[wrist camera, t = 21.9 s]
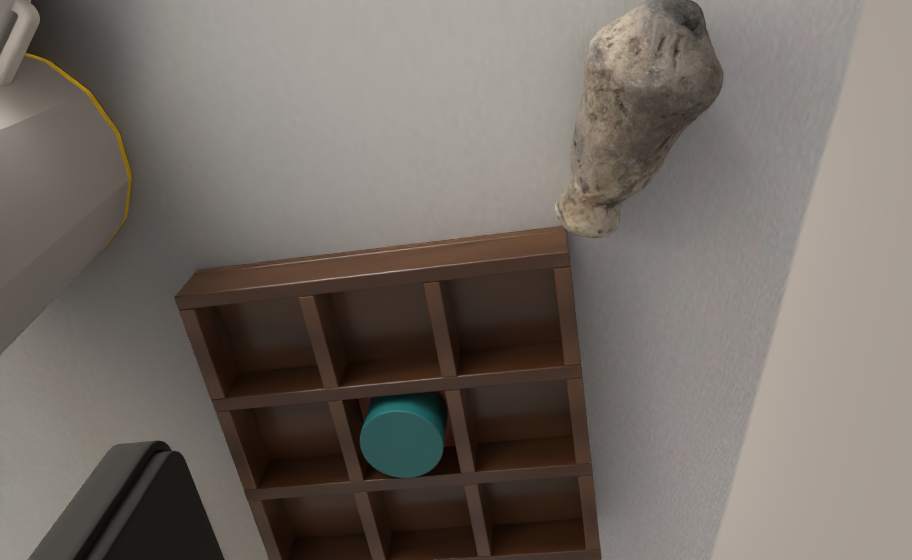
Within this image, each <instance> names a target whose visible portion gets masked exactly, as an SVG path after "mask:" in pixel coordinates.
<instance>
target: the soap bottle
mask: <svg viewBox="0 0 912 560" xmlns="http://www.w3.org/2000/svg"><path fill="white" fill-rule="evenodd" d="M131 184H132V174H131V171H130V167H129V163H128V160H127V156H126V153H125V149H124V146H123V142H122V139H121V135H120V133H119V131H118V130H117V128H116V127H115V125H114V124H113V123H112V121H111V120H110V118H109V117H108V116H107V114H106V113H105V111H104V110H103V108H102V107H101V106H100V104H99V103H98V101H97V100H96V98H95V97H94V96H93V94H92V93H91V92H90V91H89V90H88V89H86V88H85V87H84V86H82V85H81V84H80V83H78V82H77V81H76V80H75V79H73V78H72V77H71V76H69V75H68V74H67V73H65V72H64V71H63V70H61V69H60V68H59V67H57V66H56V65H55V64H53V63H52V62H51V61H49V60H47V59H44V58H41V57H38V56H35V55H32V54H28V53H25V55H24V57H23V59H22V61H21V63H20V65H19V67H18V69H17V71H16V74H15V76H14V78H13V80H12V82H11V83H10V84H7V85H3V86H0V355H1V353H2V352H3V351H4V350H5V349H6V348H7V347H8V346H9V345H10V344H11V343H12V342H13V341H14V340H15V339H16V338H17V337H18V336H19V335H20V334H21V333H22V332H23V331H24V330H25V329H26V328H27V327H28V326H29V325H30V324H31V323H32V322H33V321H34V320H35V319H36V318H37V317H38V316H39V315H40V314H41V313H42V311H43V310H44V309H45V308H46V307H47V306H48V305H49V304H50V303H51V302H52V301H53V300H54V299H55V298H56V297H57V296H58V295H59V294H60V293H61V292H62V291H63V290H64V289H65V288H66V287H67V286H68V285H69V284H70V283H71V282H72V281H73V280H74V279H75V278H76V277H77V276H78V275H79V274H80V273H81V272H82V270H83V269H84V268H85V267H86V266H87V265H88V264H89V263H90V262H91V261H92V260H93V259H94V258H95V257H96V256H97V255H98V254H99V253H100V252H101V251H102V250H103V249H104V248H105V247H106V246H107V245H108V244H109V242H110V241H111V239H112V238H113V237H114V235H115V234H116V232H117V231H118V229H119V228H120V226H121V225H122V224H123V222H124V221H125V219H126V218H127V215H128V207H129V200H130V192H131Z"/></svg>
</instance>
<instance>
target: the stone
mask: <svg viewBox="0 0 912 560" xmlns="http://www.w3.org/2000/svg"><path fill="white" fill-rule="evenodd" d="M584 74H585V82H584V92H583V98H582V102H581V105H580V108H579V111H578V115H577V120H576V125H575V131H574V137H573V143H572V151H571V169H572V181H571V183H570V185H569V186H568V188H567V189H566V190H565V191H564V192H563V194H562V195H561V196H560V197H559V199H558V201H557V203H556V205H555V212H556V215H557V217H558V219H559V220H560V222H561V224H562V225H563V226H564V227H565V229H566V230H568V231H569V232H570V233H573V234H575V235H577V236H582V237H587V238H603V237H606V236H608V235H610V234H611V233H613V232H614V231H615V229H616V228H617V227H618V224H619V221H620V205H621V203H622V202H623V201H624V200H625V199H626V198H628V197H630V196H631V195H633V194H635V193H637V192H638V191H639V190H641V189H642V188H644V187H645V186H646V185H647V184H648V183H649V181H650V180H651V179H652V177H653V176H654V175H655V174H656V172H657V171H658V169H659V168H660V166H661V165H662V163H663V161H664V159H665V157H666V155H667V153H668V151H669V150H670V148H671V147H672V145H673V144H674V142H675V141H676V139H677V138H678V137H679V135H680V134H681V133H682V131H683V130H684V129H685V128H686V127H687V126H688V125H689V124H690V123H692V122H693V121H694V120H695V119H696V118H697V117H698V116H699V115H700V114H702V113H703V112H704V111H705V110H707V109H708V108H709V107H710V106H711V105H712V103H713V102H714V101H715V99H716V98H717V96H718V95H719V93H720V90H721V88H722V84H723V70H722V68H721V65H720V63H719V61H718V59H717V57H716V55H715V52H714V49H713V47H712V44H711V41H710V38H709V35H708V32H707V29H706V23H705V19H704V14H703V12H702V9H701V8H700V7H699V5H698V4H697V3H695V2H693V1H691V0H647V1H644V2H642V3H641V4H639V5H638V6H636V7H635V8H633V9H632V10H631V11H630V12H628V13H627V14H626V15H624V16H623V17H621V18H619V19H617V20H616V21H614V22H612V23H610V24H608V25H606V26H605V27H603V28H602V29H601V30H599V31H598V32H597V33H596V34H595V35H594V36H593V37H592V39H591V41H590V43H589V46H588V51H587V55H586V60H585V67H584Z"/></svg>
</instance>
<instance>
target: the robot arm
mask: <svg viewBox="0 0 912 560" xmlns="http://www.w3.org/2000/svg"><path fill="white" fill-rule="evenodd" d="M28 560H225V559H224V557H223V554H222V552H221V549H220V547H219V544H218V542H217V539H216V537H215V534H214V532H213V529H212V527H211V524H210V522H209V519H208V517H207V514H206V511H205V509H204V506H203V504H202V501H201V499H200V496H199V494H198V491H197V489H196V486H195V484H194V481H193V479H192V476H191V474H190V471H189V469H188V466H187V464H186V461H185V459H184V457H183V455H182V454H181V453H179V452H177V451H172V450H171V449H170V447H169V446H168V445H167V444H166V443H165V442H163V441H148V442H137V443H126V444H118V445H115V446H113V447H112V448H111V449H110V450H109V451H108V452H107V453H106V455H105V456H104V457H103V459H102V460H101V461H100V463H99V464H98V465H97V467H96V468H95V469H94V471H93V472H92V473H91V475H90V476H89V478H88V479H87V480H86V482H85V483H84V484H83V486H82V487H81V488H80V490H79V491H78V492H77V494H76V495H75V496H74V498H73V499H72V501H71V502H70V503H69V505H68V506H67V507H66V509H65V510H64V511H63V513H62V514H61V515H60V517H59V518H58V519H57V521H56V522H55V524H54V525H53V526H52V528H51V529H50V530H49V532H48V533H47V534H46V536H45V537H44V538H43V540H42V541H41V542H40V544H39V545H38V547H37V548H36V549H35V551H34V552H33V553H32V555H31V556H30V557H29V559H28Z"/></svg>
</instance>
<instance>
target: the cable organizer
mask: <svg viewBox="0 0 912 560" xmlns="http://www.w3.org/2000/svg"><path fill="white" fill-rule="evenodd" d="M30 2H31V0H0V86H3V85H7V84H10V83H11V82H12V80H13V78H14V76H15V74H16V71H17V69H18V67H19V65H20V63H21V61H22V59H23V57H24V55H25V53H26V51H27V48H28V46H29V44H30V42H31V40H32V38H33V36H34V34H35V32H36V30H37V28H38V25H39V22H40V16H39V13H38V11H37V9H36V8H35V7H34V6H33V5H32V4H31V3H30Z"/></svg>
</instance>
